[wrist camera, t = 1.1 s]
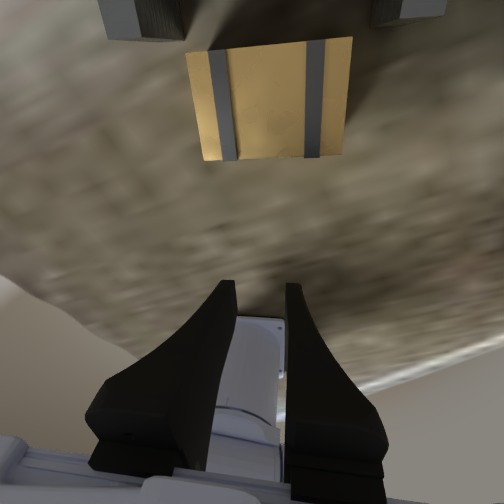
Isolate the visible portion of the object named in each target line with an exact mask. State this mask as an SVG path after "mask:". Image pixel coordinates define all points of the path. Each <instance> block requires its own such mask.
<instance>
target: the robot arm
mask: <svg viewBox="0 0 504 504" xmlns="http://www.w3.org/2000/svg"><path fill="white" fill-rule="evenodd" d="M237 312H238V308H237V299H236V290H235V280H221V281H220V282H219V284H218V285H217V286H216V288H215V289H214V290H213V292H212V293H211V294H210V296H209V297H208V298H207V299H206V301H205V302H204V303H203V304H202V305H201V306H200V308H199V309H198V310H197V311H196V312H195V313H194V314H193V315H192V316H191V317H190V318H189V320H188V321H187V322H186V323H185V324H184V325H183V326H182V327H181V328H180V329H178V330H177V331H176V332H175V333H174V334H173V335H172V336H171V337H170V338H168V339H167V340H166V341H165V342H163V343H162V344H161V345H160V346H158V347H157V348H156V349H155V350H153V351H152V352H150V353H149V354H148V355H146V356H145V357H143V358H142V359H140V360H139V361H137V362H136V363H134V364H133V365H131V366H130V367H128V368H126V369H124V370H123V371H121V372H120V373H117V374H116V375H114V376H112V377H111V378H109V379H107V380H106V381H105V382H104V384H103V385H102V387H101V388H100V390H99V391H98V393H97V394H96V396H95V398H94V400H93V401H92V403H91V405H90V406H89V408H88V410H87V412H86V414H85V421H86V423H87V424H88V426H89V427H90V429H91V430H92V431H93V432H94V434H95V435H96V436H97V438H98V439H99V442H98V444H97V446H96V448H95V449H94V451H93V453H92V455H85V454H78V453H71V452H64V451H57V450H50V449H43V448H36V447H29V446H28V444H27V443H26V442H25V441H24V440H23V439H21V438H19V437H17V436H13V435H6V434H0V504H426V503H420V502H413V501H406V500H399V499H392V498H386V494H385V489H384V484H383V478H384V472H383V466H382V460H383V458H384V457H385V454H386V453H387V451H388V447H389V443H388V438H387V435H386V432H385V429H384V426H383V424H382V421H381V419H380V417H379V414H378V412H377V410H376V408H375V407H374V406H373V405H372V403H371V402H370V401H369V400H368V399H367V398H366V397H365V396H364V395H363V394H362V393H361V391H360V390H359V389H358V388H357V387H356V386H355V384H354V383H353V382H352V381H351V380H350V378H349V377H348V376H347V374H346V373H345V372H344V370H343V369H342V368H341V366H340V365H339V364H338V362H337V361H336V360H335V358H334V357H333V355H332V354H331V352H330V351H329V349H328V347H327V346H326V344H325V342H324V341H323V339H322V337H321V335H320V333H319V331H318V330H317V328H316V326H315V324H314V321H313V319H312V317H311V315H310V312H309V310H308V307H307V305H306V302H305V299H304V296H303V292H302V286H301V285H300V284H299V283H286V291H285V321H284V320H283V319H276V318H261V317H246V316H237ZM284 350H285V353H286V372H287V390H286V418H285V444H283V443H280V429H279V428H276V413H277V397H278V381H279V378H283V377H284ZM495 504H504V503H495Z"/></svg>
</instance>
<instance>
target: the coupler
mask: <svg viewBox="0 0 504 504" xmlns="http://www.w3.org/2000/svg"><path fill="white" fill-rule="evenodd" d="M447 2H448V0H373V7H372V14H371V21H370V28H376V27H390V26H401V25H406V24H410V23H414V22H418V21H423V20H427V19H431V18H435V17H440V16H444V14H445V10H446V6H447ZM98 4H99V7H100V11H101V15H102V19H103V22H104V26H105V30H106V34H107V37H108V40H126V41H144V42H171V41H185V39H184V32H183V26H182V19H181V12H180V5H179V0H98Z"/></svg>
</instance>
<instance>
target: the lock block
mask: <svg viewBox="0 0 504 504" xmlns="http://www.w3.org/2000/svg"><path fill="white" fill-rule="evenodd" d="M352 40H353V36H352V37H342V38H332V39H321V40H311V41H302V42H292V43H283V44H273V45H263V46H253V47H243V48H233V49H222V50H212V51H203V52H193V53H185V54H186V59H187V65H188V71H189V77H190V82H191V88H192V94H193V100H194V106H195V111H196V117H197V123H198V129H199V134H200V140H201V146H202V152H203V157H204V161H205V160H223V161H237V160H238V159H254V158H278V157H303V156H304V158H320V156H327V155H342V146H343V136H344V125H345V114H346V104H347V93H348V83H349V72H350V62H351V51H352Z"/></svg>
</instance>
